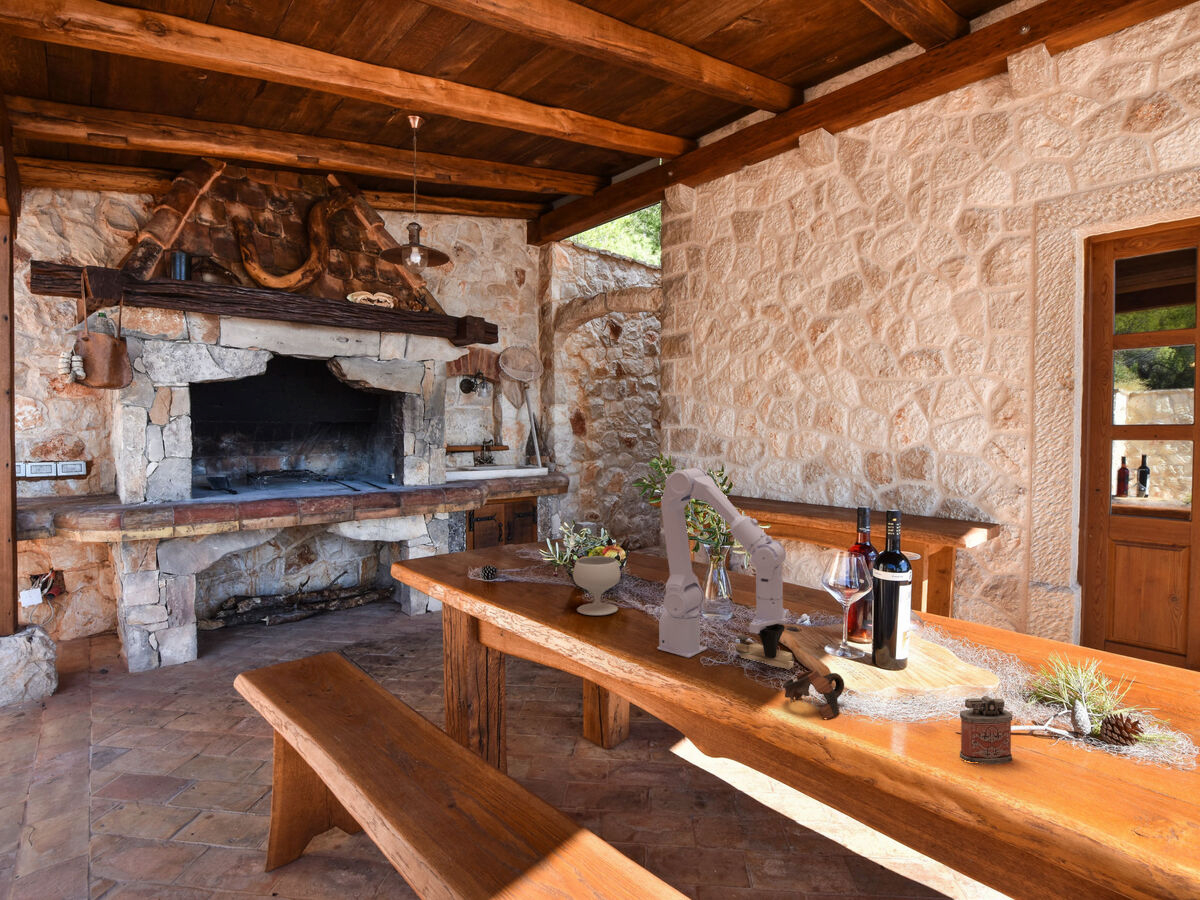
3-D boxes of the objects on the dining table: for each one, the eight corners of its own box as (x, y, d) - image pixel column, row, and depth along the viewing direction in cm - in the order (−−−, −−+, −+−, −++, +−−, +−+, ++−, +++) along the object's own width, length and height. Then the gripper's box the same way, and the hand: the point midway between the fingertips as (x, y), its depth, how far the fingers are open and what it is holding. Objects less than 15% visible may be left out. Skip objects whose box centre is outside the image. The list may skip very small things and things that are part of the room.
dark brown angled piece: (817, 728, 117) (794, 684, 120) (790, 730, 126) (769, 688, 128) (864, 699, 122) (842, 657, 124) (836, 702, 130) (815, 663, 133)
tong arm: (736, 649, 151) (736, 643, 151) (745, 645, 153) (745, 639, 153) (784, 663, 142) (784, 656, 142) (793, 658, 144) (793, 652, 144)
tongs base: (733, 657, 152) (733, 636, 151) (740, 653, 154) (740, 633, 154) (787, 671, 142) (787, 649, 142) (794, 667, 145) (794, 646, 145)
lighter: (1003, 752, 107) (1003, 692, 106) (1017, 763, 103) (1017, 701, 103) (955, 754, 106) (955, 694, 106) (967, 765, 103) (967, 703, 103)
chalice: (573, 618, 184) (572, 566, 183) (573, 604, 198) (572, 555, 197) (622, 616, 185) (621, 564, 184) (619, 603, 199) (618, 554, 198)
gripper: (770, 607, 136) (771, 671, 136) (801, 592, 146) (801, 652, 147) (740, 601, 141) (741, 663, 141) (772, 587, 151) (773, 645, 152)
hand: (770, 657), depth 144 cm, fingers closed, pressing on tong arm
